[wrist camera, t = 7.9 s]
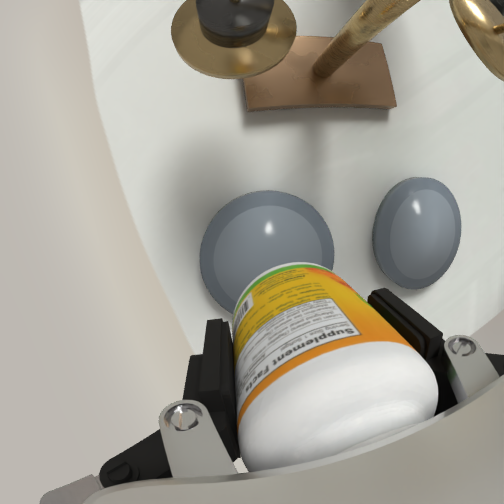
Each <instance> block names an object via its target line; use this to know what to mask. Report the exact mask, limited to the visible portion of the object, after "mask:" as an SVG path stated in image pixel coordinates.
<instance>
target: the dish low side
mask: <svg viewBox="0 0 504 504" xmlns="http://www.w3.org/2000/svg"><path fill="white" fill-rule="evenodd" d="M292 262H308V263H314V264H317V265H321V266H323V267H325V268H327V269H329V270H331V271H332V269H333V263H334V245H333V240H332V236H331V233H330V230H329V228H328V226H327V224H326V222H325V221H324V219H323V218H322V216H321V215H320V214H319V213H318V212H317V211H316V210H315V209H314V208H313V207H312V206H311V205H309V204H308V203H307V202H305V201H304V200H302V199H300V198H298V197H296V196H293V195H290V194H287V193H283V192H278V191H269V190H266V191H256V192H251V193H248V194H245V195H242V196H240V197H238V198H236V199H234V200H232V201H231V202H229V203H228V204H226V205H225V206H224V207H223V208H222V209H221V210H220V211H219V212H218V213H217V214H216V215H215V217H214V218H213V219H212V221H211V222H210V224H209V226H208V228H207V230H206V232H205V235H204V237H203V241H202V244H201V250H200V268H201V273H202V277H203V280H204V283H205V285H206V287H207V289H208V291H209V292H210V294H211V295H212V297H213V298H214V299H215V300H216V301H217V302H218V303H219V304H220V305H221V306H222V307H223V308H225V309H226V310H227V311H229V312H230V313H232V314H234V310H235V307H236V304H237V302H238V300H239V298H240V296H241V294H242V293H243V291H244V290H245V289H246V287H247V286H248V285H249V284H250V283H251V282H252V281H253V280H254V279H255V278H256V277H258V276H259V275H260V274H262V273H263V272H265V271H267V270H269V269H271V268H273V267H276V266H279V265H282V264H287V263H292Z"/></svg>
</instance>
